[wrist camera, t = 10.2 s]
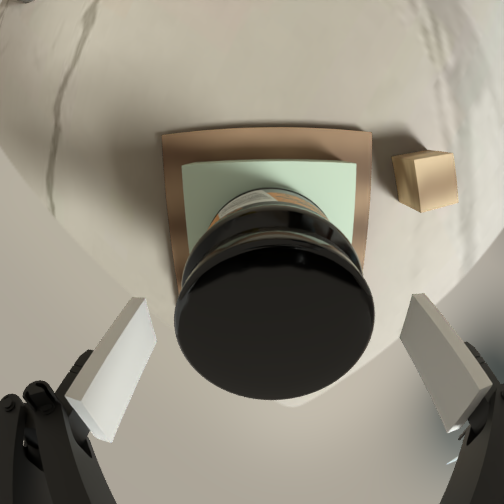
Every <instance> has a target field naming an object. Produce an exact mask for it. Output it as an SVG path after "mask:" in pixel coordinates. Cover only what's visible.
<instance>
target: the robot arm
mask: <svg viewBox="0 0 504 504" xmlns="http://www.w3.org/2000/svg"><path fill="white" fill-rule="evenodd" d="M400 339H401V341H402V343H403V344H404V346H405V348H406V350H407V352H408V354H409V355H410V357H411V359H412V361H413V363H414V365H415V367H416V369H417V371H418V372H419V374H420V376H421V378H422V380H423V382H424V384H425V386H426V388H427V390H428V392H429V394H430V396H431V398H432V401H433V403H434V405H435V407H436V409H437V411H438V413H439V416H440V418H441V420H442V422H443V424H444V427H445V429H446V432H447V433H449V432H452V431H454V430H457V429H459V428H461V427H462V426H463V424H464V423H465V422H466V421H467V419H468V421H469V423H470V425H469V426H468V427H467V428H466V430H465V431H464V432H463V433H462V434H461V435H460V437H459V439H458V440H460V439H461V438H462V437H463V436H464V435H465V437H464V440H463V444H462V447H461V450H460V453H459V456H458V459H457V462H456V465H455V468H454V471H453V473H452V476H451V479H450V481H449V484H448V486H447V488H446V491H445V493H444V495H443V498H442V500H441V502H440V504H504V384H500V383H499V381H498V380H497V378H496V377H495V375H494V374H493V372H492V371H491V369H490V368H489V367H488V365H487V364H486V363H485V361H484V360H483V358H482V357H480V354H479V353H478V351H477V350H476V349H475V347H473V346H472V345H471V344H469V343H468V342H463V341H462V339H461V338H460V337H459V335H458V334H457V333H456V332H455V330H454V329H453V328H452V326H450V324H449V323H448V322H447V320H446V319H445V318H444V317H443V315H442V314H441V313H440V311H439V310H438V309H437V308H436V307H435V305H434V304H433V303H432V302H431V301H430V300H429V298H428V297H427V296H426V295H425V294H424V293H422V294H412V297H411V301H410V305H409V308H408V312H407V315H406V319H405V322H404V325H403V328H402V331H401V334H400ZM156 342H157V340H156V336H155V333H154V329H153V326H152V322H151V318H150V314H149V310H148V306H147V302H146V298H135V297H132V298H131V300H130V301H129V302H128V303H127V305H126V306H125V307H124V309H123V310H122V312H121V313H120V314H119V316H118V317H117V318H116V320H115V321H114V322H113V324H112V325H111V327H110V328H109V329H108V331H107V332H106V334H105V335H104V337H103V338H102V339H101V341H100V342H99V344H98V345H97V347H96V348H95V350H87V351H86V352H85V353H83V354H82V355H81V356H80V357H79V358H78V360H77V361H76V362H75V364H74V366H73V367H72V368H71V370H70V372H69V373H68V374H67V375H66V377H65V379H64V380H63V381H62V383H61V384H60V386H59V388H58V389H57V391H56V392H55V393H54V391H53V390H52V388H51V387H50V386H49V384H48V383H47V382H45V381H41V380H40V381H35V382H33V383H31V384H29V385H28V386H27V387H26V389H25V390H24V392H23V398H24V400H25V401H26V402H27V403H23V402H22V400H21V399H20V398H19V396H17V395H16V394H8V395H6V396H5V397H3V398H2V400H1V401H0V504H116V501H115V499H114V497H113V495H112V493H111V491H110V489H109V487H108V485H107V483H106V480H105V478H104V476H103V474H102V471H101V469H100V466H99V464H98V461H97V459H96V456H95V453H94V451H93V448H92V445H91V442H90V440H89V438H88V437H87V435H88V433H89V431H91V432H92V434H93V435H94V436H95V437H96V438H98V439H101V440H104V441H107V442H110V443H111V442H112V441H113V438H114V436H115V433H116V431H117V429H118V426H119V424H120V421H121V419H122V417H123V415H124V412H125V410H126V408H127V405H128V403H129V401H130V398H131V396H132V394H133V391H134V390H135V387H136V385H137V383H138V381H139V379H140V376H141V374H142V372H143V370H144V368H145V365H146V363H147V361H148V358H149V357H150V355H151V353H152V351H153V349H154V347H155V344H156ZM23 440H24V446H23Z"/></svg>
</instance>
